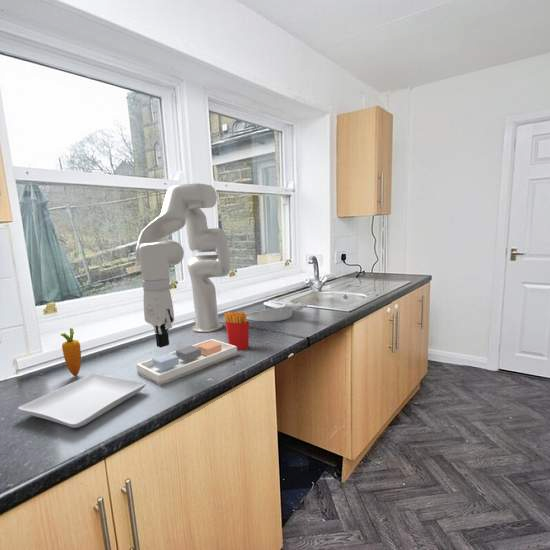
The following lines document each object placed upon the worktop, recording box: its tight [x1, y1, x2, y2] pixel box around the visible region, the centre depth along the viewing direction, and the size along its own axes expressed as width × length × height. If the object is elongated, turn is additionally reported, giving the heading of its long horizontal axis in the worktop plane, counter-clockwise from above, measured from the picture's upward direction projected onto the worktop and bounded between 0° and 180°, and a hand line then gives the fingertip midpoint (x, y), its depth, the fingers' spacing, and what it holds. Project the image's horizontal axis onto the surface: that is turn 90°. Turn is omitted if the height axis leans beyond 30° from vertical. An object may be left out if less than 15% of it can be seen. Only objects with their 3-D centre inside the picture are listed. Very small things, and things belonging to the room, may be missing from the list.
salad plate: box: [17, 373, 147, 429], centre depth 88 cm, size 21×21×3 cm
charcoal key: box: [175, 345, 201, 362], centre depth 111 cm, size 6×6×2 cm
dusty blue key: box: [151, 352, 179, 370], centre depth 105 cm, size 6×6×2 cm
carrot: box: [60, 328, 82, 377], centre depth 106 cm, size 5×5×15 cm
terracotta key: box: [198, 341, 222, 356], centre depth 116 cm, size 6×6×2 cm
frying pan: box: [245, 301, 308, 323], centre depth 157 cm, size 23×33×10 cm
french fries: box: [223, 311, 250, 351], centre depth 123 cm, size 9×4×13 cm, turn 61°
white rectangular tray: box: [136, 338, 238, 387], centre depth 111 cm, size 14×28×3 cm, turn 136°
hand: (163, 345), depth 104 cm, fingers closed
